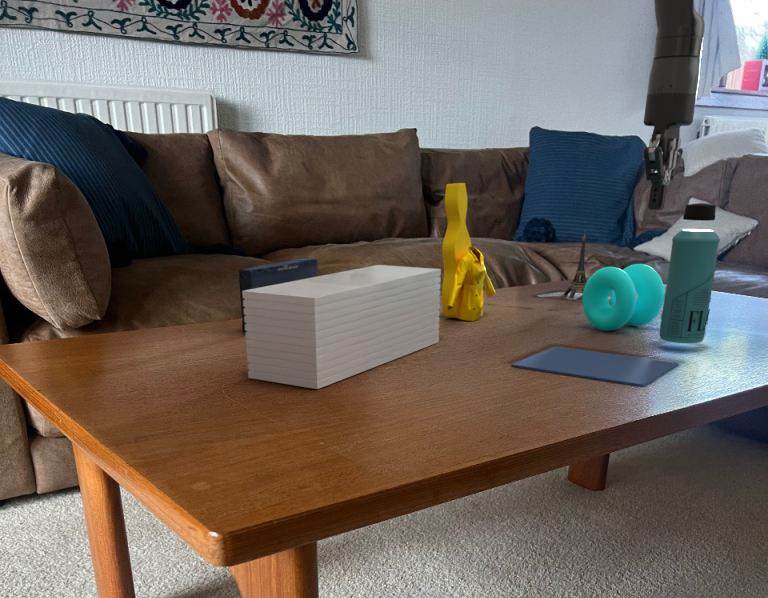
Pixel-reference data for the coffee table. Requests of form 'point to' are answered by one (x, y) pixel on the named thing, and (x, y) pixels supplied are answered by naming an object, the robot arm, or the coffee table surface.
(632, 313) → the donuts
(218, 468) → the coffee table surface
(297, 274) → the vhs cassette tape
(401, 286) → the stack of papers
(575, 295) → the eiffel tower figurine
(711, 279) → the beverage bottle
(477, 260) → the figure statuette
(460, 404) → the coffee table surface
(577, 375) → the felt mat
